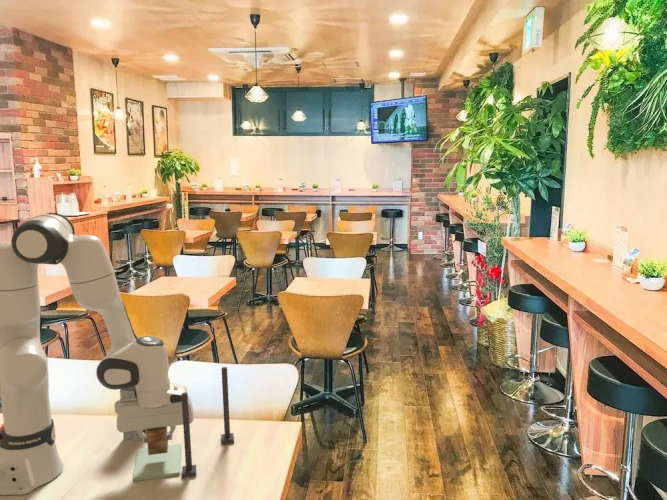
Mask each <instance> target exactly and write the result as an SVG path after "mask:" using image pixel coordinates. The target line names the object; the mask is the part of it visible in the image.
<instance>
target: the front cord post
mask: <svg viewBox="0 0 667 500" xmlns="http://www.w3.org/2000/svg"><path fill="white" fill-rule="evenodd" d="M188 394H189V393H188V392H187V393H186V392H184V393H182V394H181V396H182V412H183V426H182V427H183V441H184V454H185V455H184V457H185V465H182V467H181V468H182V469H181V475H182V476H181V477H182V479H184V478H191V477H197V464H193V462H192V461H193V459H192V457H193V456H192V445H191V432H190V431H191V430H190V429H191V428H190V424H189V408H188V396H189V395H188Z"/></svg>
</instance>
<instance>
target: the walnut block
mask: <svg viewBox="0 0 667 500" xmlns="http://www.w3.org/2000/svg"><path fill="white" fill-rule="evenodd" d="M167 432H168V427H160V428H152V429H147V432H146V433H147V443H146V444H147V448H148V455H154V454H161V453H167V452H168V445H169V440H167Z"/></svg>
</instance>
